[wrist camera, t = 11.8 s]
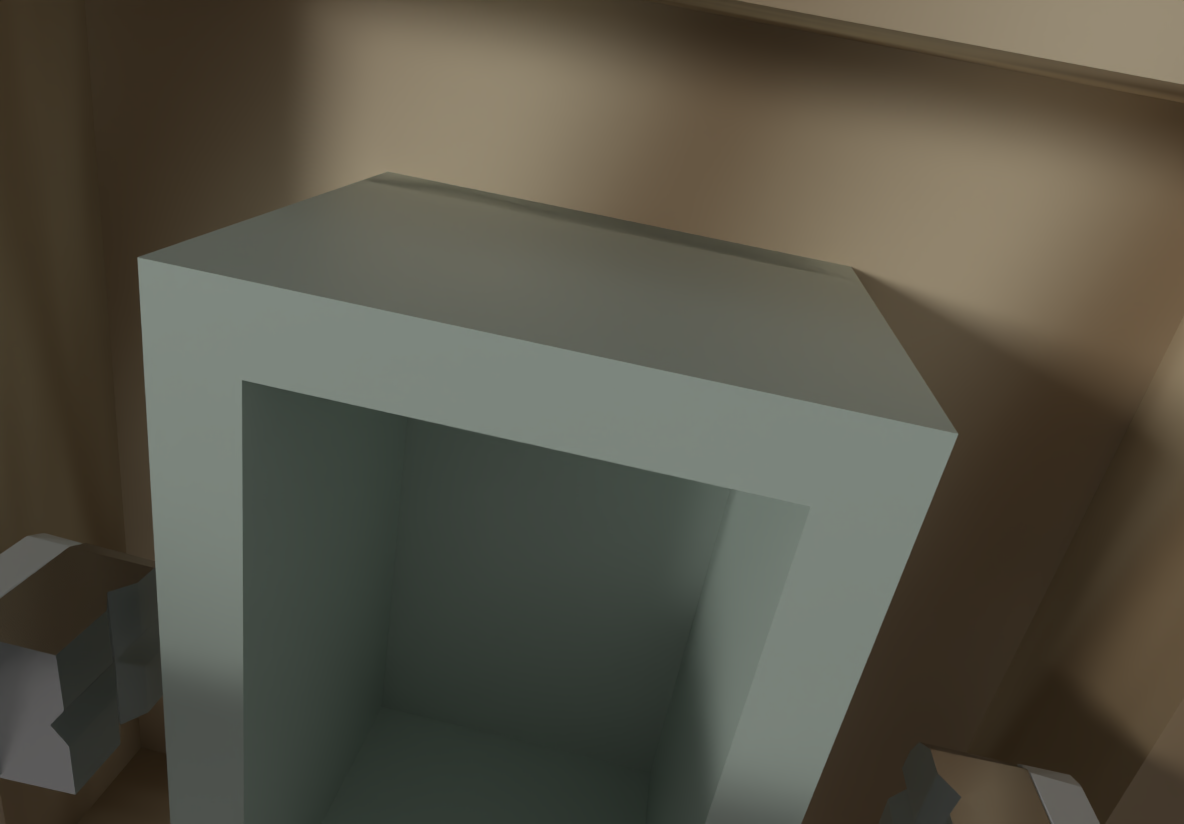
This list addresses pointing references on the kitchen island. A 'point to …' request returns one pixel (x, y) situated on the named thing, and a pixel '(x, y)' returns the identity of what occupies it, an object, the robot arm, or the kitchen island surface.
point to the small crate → (516, 513)
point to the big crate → (707, 208)
